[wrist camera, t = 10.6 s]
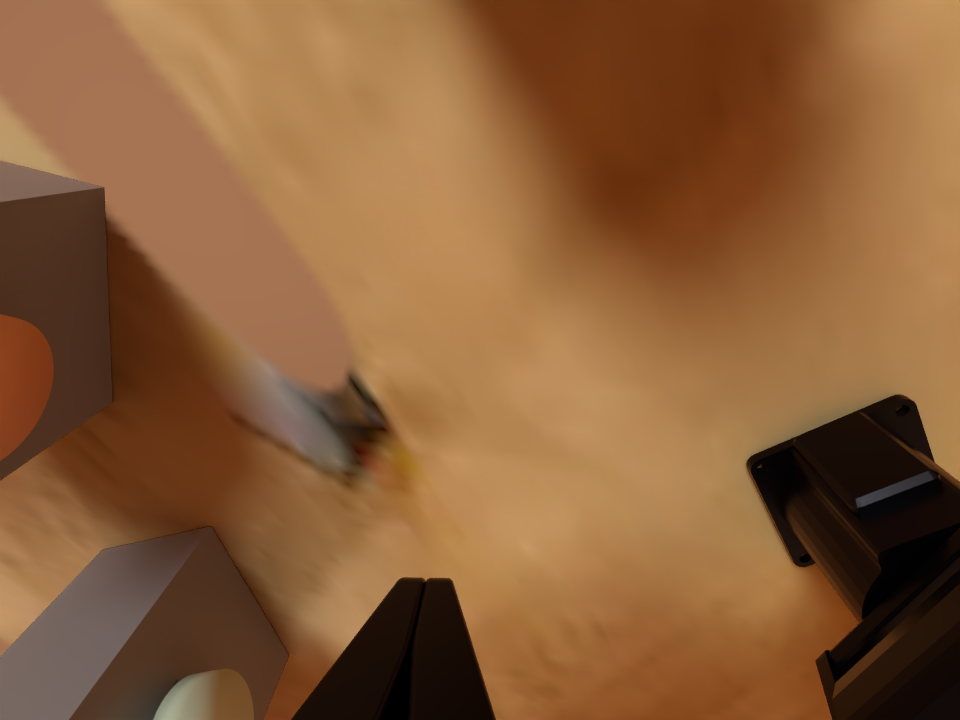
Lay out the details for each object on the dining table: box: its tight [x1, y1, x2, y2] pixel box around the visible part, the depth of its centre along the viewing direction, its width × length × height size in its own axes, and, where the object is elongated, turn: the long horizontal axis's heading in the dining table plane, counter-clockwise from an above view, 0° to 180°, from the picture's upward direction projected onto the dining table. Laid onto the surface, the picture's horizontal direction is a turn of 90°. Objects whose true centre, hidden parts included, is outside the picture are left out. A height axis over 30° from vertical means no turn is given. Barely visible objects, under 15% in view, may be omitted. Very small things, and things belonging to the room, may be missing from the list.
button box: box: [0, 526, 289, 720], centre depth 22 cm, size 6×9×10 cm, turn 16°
